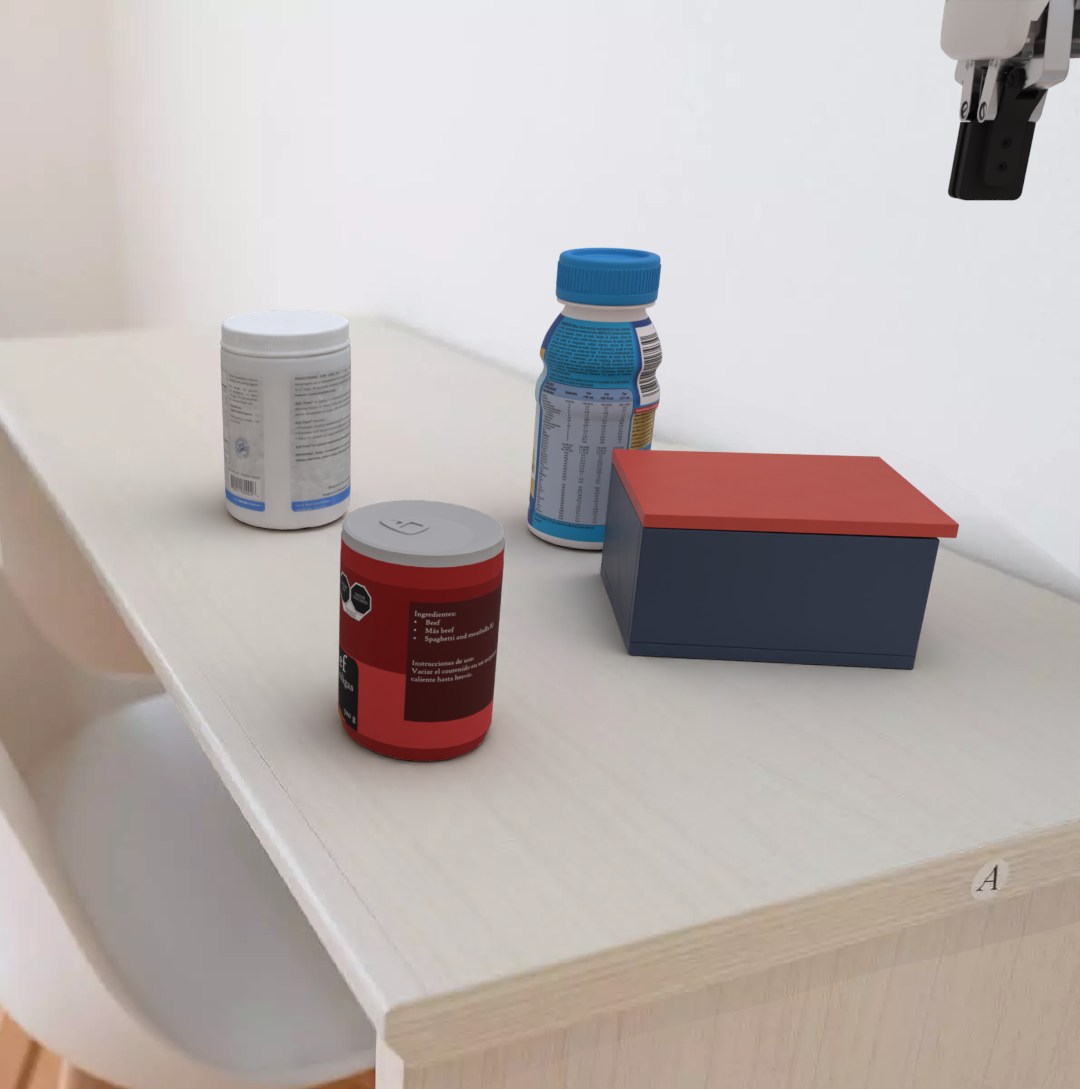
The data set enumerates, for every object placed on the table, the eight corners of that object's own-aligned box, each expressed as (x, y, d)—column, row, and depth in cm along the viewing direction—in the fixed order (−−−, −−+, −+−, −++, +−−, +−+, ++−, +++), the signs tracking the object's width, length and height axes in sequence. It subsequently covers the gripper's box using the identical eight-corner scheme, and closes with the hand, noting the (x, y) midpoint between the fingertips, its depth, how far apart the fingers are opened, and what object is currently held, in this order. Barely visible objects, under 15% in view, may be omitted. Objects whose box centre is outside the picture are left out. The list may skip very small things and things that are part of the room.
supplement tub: (349, 493, 98) (353, 308, 93) (350, 535, 89) (354, 333, 84) (228, 491, 99) (225, 307, 93) (217, 532, 90) (213, 332, 85)
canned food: (368, 679, 68) (374, 490, 64) (510, 709, 65) (525, 512, 61) (312, 742, 62) (314, 537, 58) (466, 779, 58) (479, 565, 54)
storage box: (843, 583, 81) (863, 469, 78) (913, 669, 69) (940, 539, 66) (600, 572, 83) (611, 461, 80) (628, 655, 71) (642, 528, 68)
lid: (877, 468, 78) (879, 456, 77) (956, 538, 66) (959, 524, 66) (611, 460, 80) (612, 448, 79) (643, 527, 68) (644, 513, 68)
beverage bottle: (549, 557, 85) (574, 263, 78) (508, 516, 93) (527, 246, 86) (664, 549, 86) (699, 260, 79) (614, 510, 94) (641, 243, 87)
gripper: (1229, -221, 54) (1129, 213, 60) (1063, -160, 67) (996, 187, 74) (1046, -214, 54) (966, 213, 61) (919, -155, 68) (865, 187, 75)
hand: (983, 198), depth 67 cm, fingers closed
